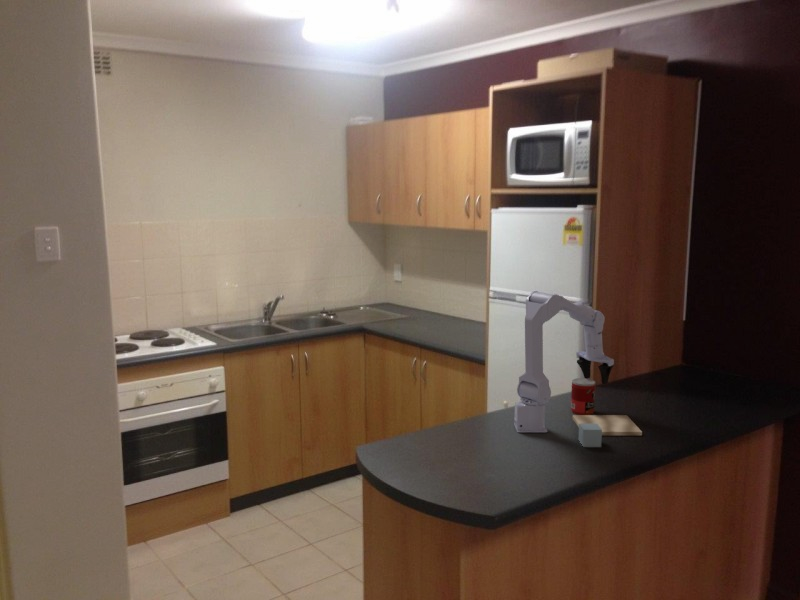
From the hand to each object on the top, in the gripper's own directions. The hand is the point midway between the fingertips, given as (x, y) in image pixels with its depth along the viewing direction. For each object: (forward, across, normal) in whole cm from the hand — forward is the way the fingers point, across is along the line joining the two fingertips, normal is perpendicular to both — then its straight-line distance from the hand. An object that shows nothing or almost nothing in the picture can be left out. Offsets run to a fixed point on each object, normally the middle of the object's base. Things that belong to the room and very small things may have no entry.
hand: (596, 380), depth 245 cm
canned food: (+10, +1, +7) cm, 12 cm away
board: (+9, -13, +12) cm, 20 cm away
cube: (+6, -20, +28) cm, 35 cm away
